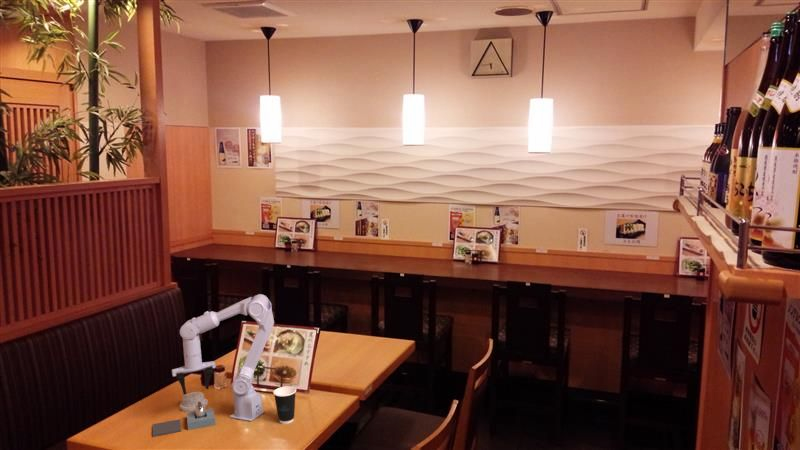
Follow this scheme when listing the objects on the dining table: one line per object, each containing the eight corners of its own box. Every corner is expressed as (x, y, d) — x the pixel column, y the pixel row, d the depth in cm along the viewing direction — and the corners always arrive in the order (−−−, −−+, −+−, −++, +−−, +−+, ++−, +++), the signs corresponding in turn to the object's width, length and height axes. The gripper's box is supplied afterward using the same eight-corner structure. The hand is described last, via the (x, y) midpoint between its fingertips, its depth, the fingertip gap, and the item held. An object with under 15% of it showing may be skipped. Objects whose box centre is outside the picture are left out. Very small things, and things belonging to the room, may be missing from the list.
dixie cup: (292, 413, 213) (290, 384, 212) (301, 421, 207) (300, 391, 205) (271, 420, 209) (269, 390, 207) (280, 428, 202) (278, 397, 201)
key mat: (180, 420, 211) (180, 419, 211) (181, 431, 202) (180, 429, 202) (153, 425, 207) (153, 424, 207) (152, 437, 199) (152, 435, 199)
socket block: (213, 414, 215) (212, 407, 214) (215, 424, 206) (214, 418, 206) (187, 419, 211) (186, 412, 211) (188, 430, 203) (187, 423, 203)
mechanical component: (174, 411, 219) (199, 412, 217) (173, 400, 219) (198, 401, 217) (189, 400, 229) (212, 401, 227) (188, 389, 228) (211, 390, 226)
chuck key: (205, 418, 212) (203, 400, 211) (206, 424, 207) (204, 406, 206) (196, 419, 211) (194, 401, 210) (197, 426, 206) (195, 407, 205)
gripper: (211, 347, 216) (214, 382, 218) (169, 355, 209) (172, 391, 211) (215, 352, 210) (218, 389, 212) (172, 361, 203) (175, 398, 205)
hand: (195, 390), depth 211 cm, fingers open, 7 cm apart
